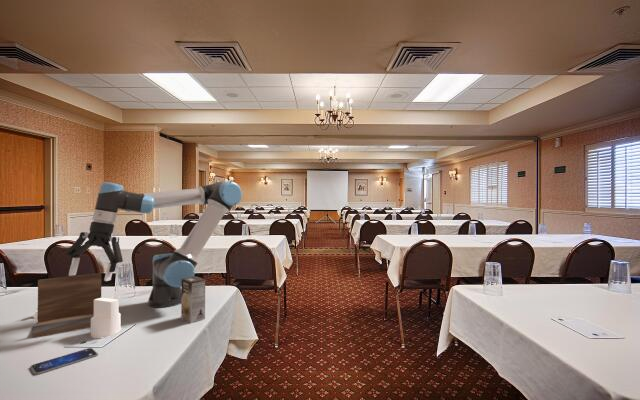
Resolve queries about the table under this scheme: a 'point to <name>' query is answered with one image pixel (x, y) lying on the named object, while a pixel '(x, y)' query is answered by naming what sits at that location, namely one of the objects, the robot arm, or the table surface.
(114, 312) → the white stepped block
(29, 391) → the table surface
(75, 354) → the smartphone
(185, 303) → the coffee box
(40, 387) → the table surface
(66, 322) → the wooden arch stand
